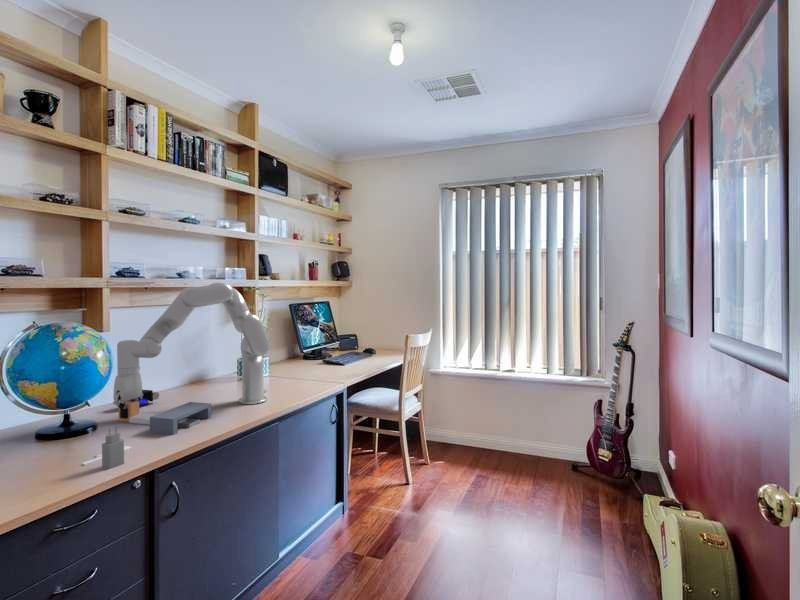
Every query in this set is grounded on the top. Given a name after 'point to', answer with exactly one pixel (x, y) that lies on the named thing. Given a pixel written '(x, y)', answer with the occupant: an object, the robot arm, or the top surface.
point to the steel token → (188, 423)
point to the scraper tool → (135, 414)
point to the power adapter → (112, 450)
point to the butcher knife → (101, 457)
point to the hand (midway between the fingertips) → (128, 416)
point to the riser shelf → (178, 417)
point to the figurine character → (148, 397)
